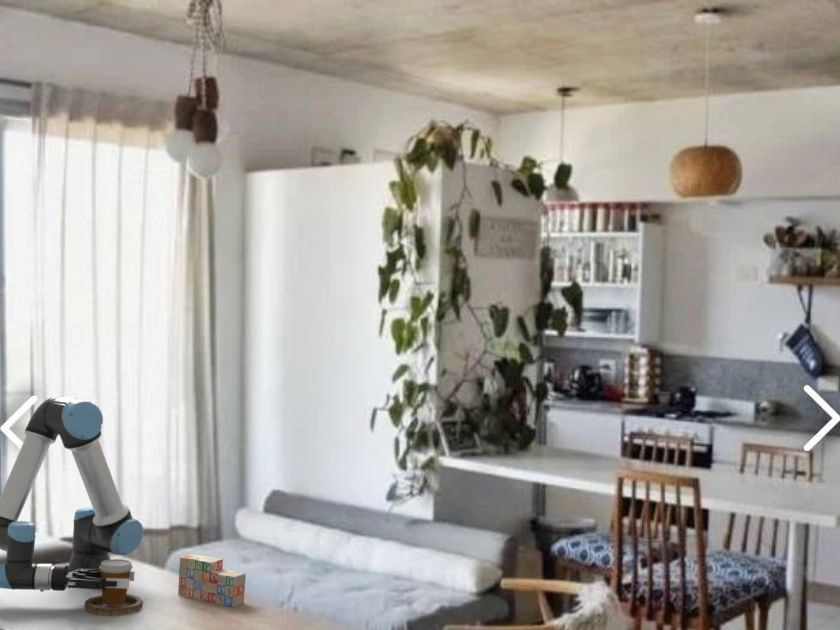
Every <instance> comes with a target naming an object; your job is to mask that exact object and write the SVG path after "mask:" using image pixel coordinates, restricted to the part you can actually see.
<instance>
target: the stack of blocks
mask: <svg viewBox="0 0 840 630" xmlns="http://www.w3.org/2000/svg"><path fill="white" fill-rule="evenodd" d="M179 557H180V558H179V567H178V568H179V570H178V571H179V572H178V591H177V593H178V596H179V595H180V596H179V597H184V598H188V599H189V598H190V599H192V598H193V599H194V600H197V599H198V601H203V602H207V603H212V604H217V605H222V606H225V607H231V608H232V607H235V606H239V605H241V604H244V603H245V592H246V591H245V590H246V579H247V577H246V576H247V575H246V572H245V573H244V572H241V571H236V570H231V569H230V570H229V569H226V568H223V566H224V565H223V564H224V562H223V561H224V559H222V558H218V557H214V556H213V557H212V556H208V555H207V556H205V555H200V554H196V553H195V554H194V553H191V554H187V555H183V556H179Z"/></svg>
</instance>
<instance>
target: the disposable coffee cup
mask: <svg viewBox="0 0 840 630" xmlns="http://www.w3.org/2000/svg"><path fill="white" fill-rule="evenodd" d="M110 559H111V558H110ZM133 567H134V566H133V565H132V561H130V560H128V559H119V558H117V559H114V558H113V559H111V560H105V561H102V562H101V565H100V566H99V568H100V571H101V579H106V578H123V579H129V577H130V572H131V571H133V570H132V569H134V568H133ZM127 592H128V589H126V588H106V587H105V591H102V590H101V595H102V598H103V603H102V604H103V605H104V606H107V607H110V606H111V607H112V606H113V607H118V606H122V605H124V604H125V603H126V602H125V599H126V594H128V593H127Z"/></svg>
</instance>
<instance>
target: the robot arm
mask: <svg viewBox="0 0 840 630" xmlns="http://www.w3.org/2000/svg"><path fill="white" fill-rule="evenodd" d="M103 417H104V416H103V413H102V411H101V409H100V408H99V406H98V405H97V404H95V403H94V402H93V401H90V400H87V399H85V398H74V397H67V396H61V395H58V396H57V395H55V396H52V397H49V398H47V399H45V400H44V401H43V402H42V403H41V404H39V406H38V407H37V409H36V410H35V411H34V412H33V414H32V416H31V418H30V419H29V421H28V423H27V425H26V428H25V430H24V434H25V438H24V440H23V442H22V445H21V447H20V450H19V452H18V455H17V457H16V458H15V462H14V464H13V466H12V469H11V470H10V473H9V475H8V477H7V480H6V482H5V485H4V486H3V489H2V492H1V494H0V550H1V551H4V552H6V559H5V562H0V589H5V590H14V591H15V590H27V591H28V590H33V591H35V590H36V591H40V592H41V593H43V592H44V591H51V590H52V591H56V592H57V591H59V592H62V591H63V592H64V591H66V589H67V588H68V589H84V590H85V589H86V590H97V591H101V592H102V591H105V587H106V588H126V589H127V590H128V589H129V588H130V582H134V581H135V571H133V570H131V572H130V577H129V579H123V578H106V579H101V571H100V568H99V566H100V565H101V562H102V561H105V560H111V556H110V554H113V555H116V556H128V555H130V554H132V553H134V552H135V551H136V550H137V549H138V548H139V546H140V545H141V543H142V540H143V539H144V533H145V532H144V531H145V530H144V526H143V524H142V523H141V522H140V521H139V520H138V519H135V518H133V515H132V513H131V509H130V508H129V506H128V505H126V504H124V503H122V500H121V497H120V495H119V492H118V489H117V486H116V484H115V481H114V478H113V476H112V473H111V470H110V467H109V466H108V462H107V460H106V456H105V454H104V451H103V449H102V446H101V443H100V438H101V436H102V431H101V430H102V429H103V428H102V427H103V426H102V424H103V423H104V418H103ZM58 436H59V437H60V440H61V442H62V444H63V447H64V448H65V449H67V450H69V451H71V453H72V456H73V458H74V461H75V464H76V467H77V470H78V471H79V475H80V477H81V479H82V482H83V485H84V488H85V490H86V493H87V496H88V499H89V501H90V503H91V506H89V507H82V508H77V509H76V510H75V512H74V516H73V520H72V521H73V531H72V532H73V533H72V534H73V535H72V551H71V557H70V560H69V562H68V564H60V563H59V564H57V563H56V564H55V565H54V564H53V563H34V555H35V554H34V552H35V545H36V544H35V542H36V524H35V523H34V522H32V521H26V520H19V518H20V516H21V513H22V511H23V509H24V506H25V504H26V501H27V499H28V497H29V495H30V494H31V490H32V487H33V486H34V483H35V481H36V479H37V477H38V474H39V472H40V470H41V467H42V464H43V462H44V460H45V457H46V455H47V452H48V451H49V448H50V446H51V445H52V444H55V442H56V441H57V438H58Z"/></svg>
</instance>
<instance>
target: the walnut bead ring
mask: <svg viewBox="0 0 840 630" xmlns="http://www.w3.org/2000/svg"><path fill="white" fill-rule="evenodd" d="M125 603H127V604H129V605H126V606H125V605H124V606H113V607H112V606H111V607H110V606H101V605H99V604H103V598H102V594H99V595H94V596H90V597H89V598H88V599H85V601H84V610H85V611H86V612H87V613H89V614H93V615H97V616H107V617H109V616H110V617H111V616H113V617H114V616H126V615H130V614H134V613H135V614H136V613H139V612H140V611H141V610H140V609H141V608H142V609H143V606H144V605H143V603H144V602H143V599H141V597H139V596H136V595H132V594H128V593H126V599H125Z"/></svg>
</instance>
